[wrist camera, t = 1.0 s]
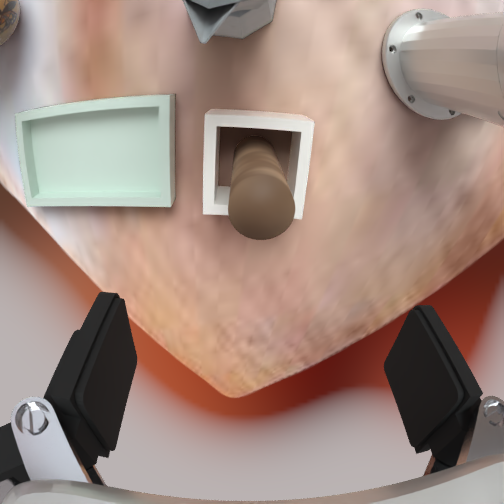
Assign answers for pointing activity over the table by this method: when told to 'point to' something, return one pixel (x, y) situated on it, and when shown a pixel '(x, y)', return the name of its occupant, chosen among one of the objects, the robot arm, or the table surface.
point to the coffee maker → (229, 17)
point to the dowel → (259, 191)
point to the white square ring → (298, 124)
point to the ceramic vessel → (8, 18)
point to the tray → (99, 152)
